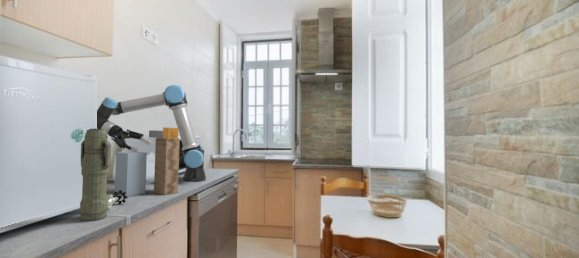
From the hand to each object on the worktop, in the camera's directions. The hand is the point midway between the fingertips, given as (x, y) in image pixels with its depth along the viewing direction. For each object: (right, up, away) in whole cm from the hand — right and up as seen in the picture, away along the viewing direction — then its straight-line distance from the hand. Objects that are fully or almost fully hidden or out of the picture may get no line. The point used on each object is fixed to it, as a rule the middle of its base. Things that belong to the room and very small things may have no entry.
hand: (143, 147), depth 171 cm
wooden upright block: (+19, -24, -13) cm, 34 cm away
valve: (+9, -24, -44) cm, 51 cm away
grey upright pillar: (+1, -24, -17) cm, 29 cm away
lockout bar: (+16, +6, -10) cm, 20 cm away
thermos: (+11, -24, -59) cm, 65 cm away
